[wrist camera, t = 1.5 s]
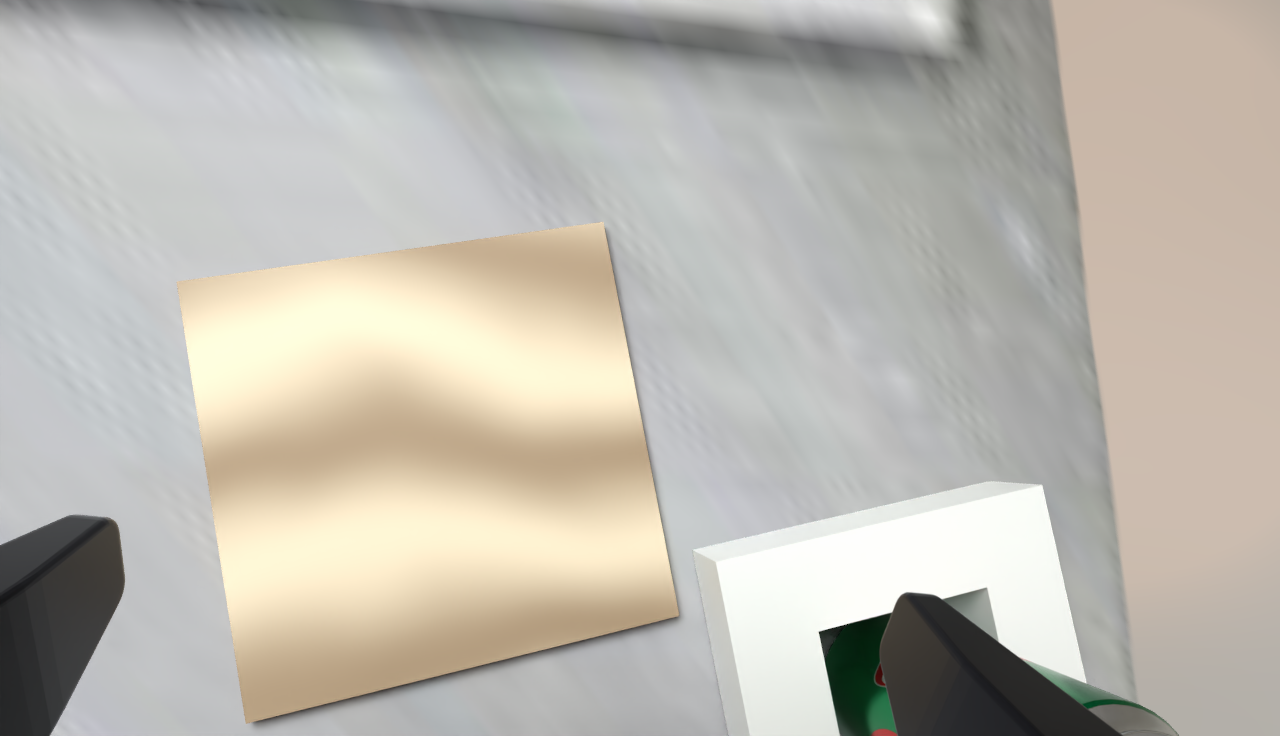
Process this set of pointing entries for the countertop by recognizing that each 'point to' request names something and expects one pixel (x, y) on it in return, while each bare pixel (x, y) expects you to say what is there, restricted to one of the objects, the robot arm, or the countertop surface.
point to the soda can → (869, 708)
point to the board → (422, 462)
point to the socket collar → (877, 594)
